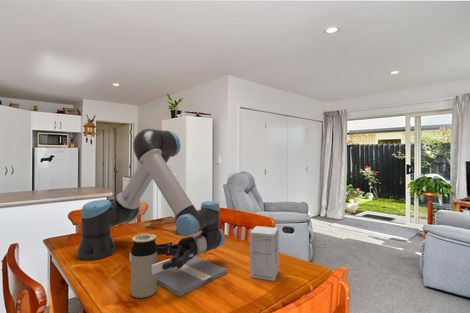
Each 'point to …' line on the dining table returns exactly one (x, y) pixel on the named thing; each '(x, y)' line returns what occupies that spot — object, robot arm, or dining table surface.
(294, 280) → the dining table surface
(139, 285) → the travel mug
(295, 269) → the dining table surface
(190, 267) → the board
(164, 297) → the dining table surface
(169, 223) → the hammer
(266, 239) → the supplement box
